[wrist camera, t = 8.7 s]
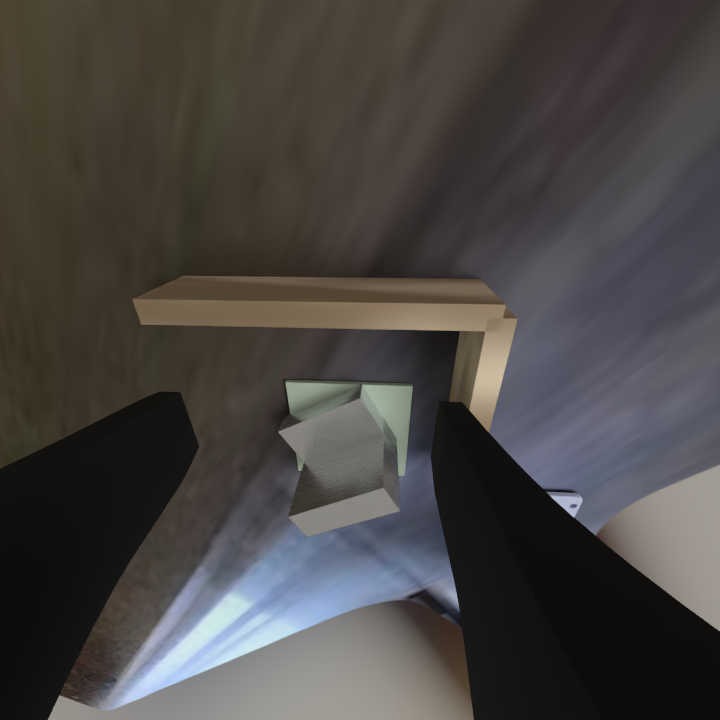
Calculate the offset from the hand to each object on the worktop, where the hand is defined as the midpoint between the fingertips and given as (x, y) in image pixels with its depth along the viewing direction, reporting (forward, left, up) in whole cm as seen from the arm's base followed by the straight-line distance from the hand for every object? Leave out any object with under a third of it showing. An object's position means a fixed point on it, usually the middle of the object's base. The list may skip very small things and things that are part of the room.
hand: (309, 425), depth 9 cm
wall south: (-5, -7, -10) cm, 13 cm away
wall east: (+1, +1, -10) cm, 10 cm away
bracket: (-9, +1, -10) cm, 13 cm away
